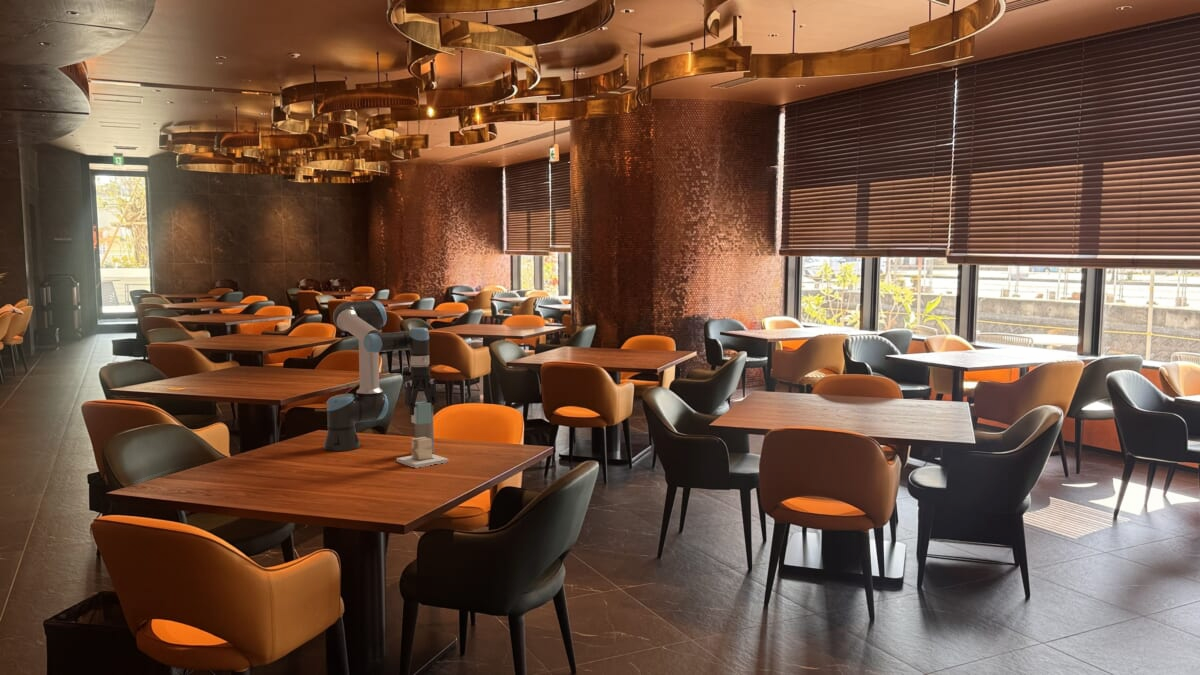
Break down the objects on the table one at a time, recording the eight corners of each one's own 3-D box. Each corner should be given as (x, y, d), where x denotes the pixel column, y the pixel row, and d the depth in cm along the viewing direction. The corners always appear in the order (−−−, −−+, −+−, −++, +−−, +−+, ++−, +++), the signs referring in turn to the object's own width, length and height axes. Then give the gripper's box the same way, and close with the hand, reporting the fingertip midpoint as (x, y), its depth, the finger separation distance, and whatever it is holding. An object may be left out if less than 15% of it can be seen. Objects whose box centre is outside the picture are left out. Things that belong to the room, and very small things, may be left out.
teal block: (411, 422, 368) (410, 403, 367) (424, 420, 372) (423, 401, 371) (418, 424, 364) (418, 404, 363) (431, 422, 367) (431, 403, 367)
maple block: (411, 457, 370) (411, 438, 369) (424, 455, 373) (424, 436, 373) (419, 460, 365) (418, 440, 364) (432, 458, 369) (431, 438, 368)
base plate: (396, 461, 370) (396, 457, 370) (428, 456, 380) (428, 452, 380) (415, 468, 358) (415, 464, 358) (448, 462, 368) (448, 458, 368)
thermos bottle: (435, 450, 391) (434, 387, 388) (431, 454, 383) (430, 389, 380) (417, 450, 391) (415, 387, 388) (413, 454, 383) (411, 389, 380)
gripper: (403, 368, 357) (405, 426, 359) (445, 364, 369) (446, 420, 371) (394, 366, 362) (396, 423, 364) (435, 363, 375) (437, 418, 377)
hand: (421, 421), depth 368 cm, fingers closed on teal block, 6 cm apart
